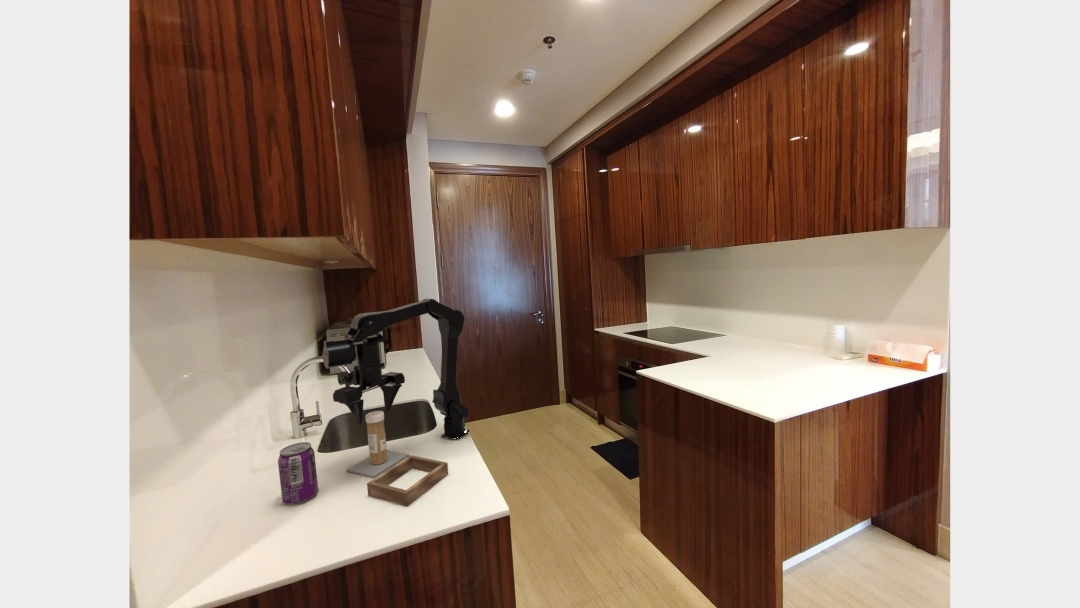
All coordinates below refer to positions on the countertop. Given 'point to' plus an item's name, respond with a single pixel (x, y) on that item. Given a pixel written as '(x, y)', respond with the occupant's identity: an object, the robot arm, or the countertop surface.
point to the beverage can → (297, 473)
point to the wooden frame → (406, 497)
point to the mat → (374, 470)
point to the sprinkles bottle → (376, 437)
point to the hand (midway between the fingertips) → (374, 417)
